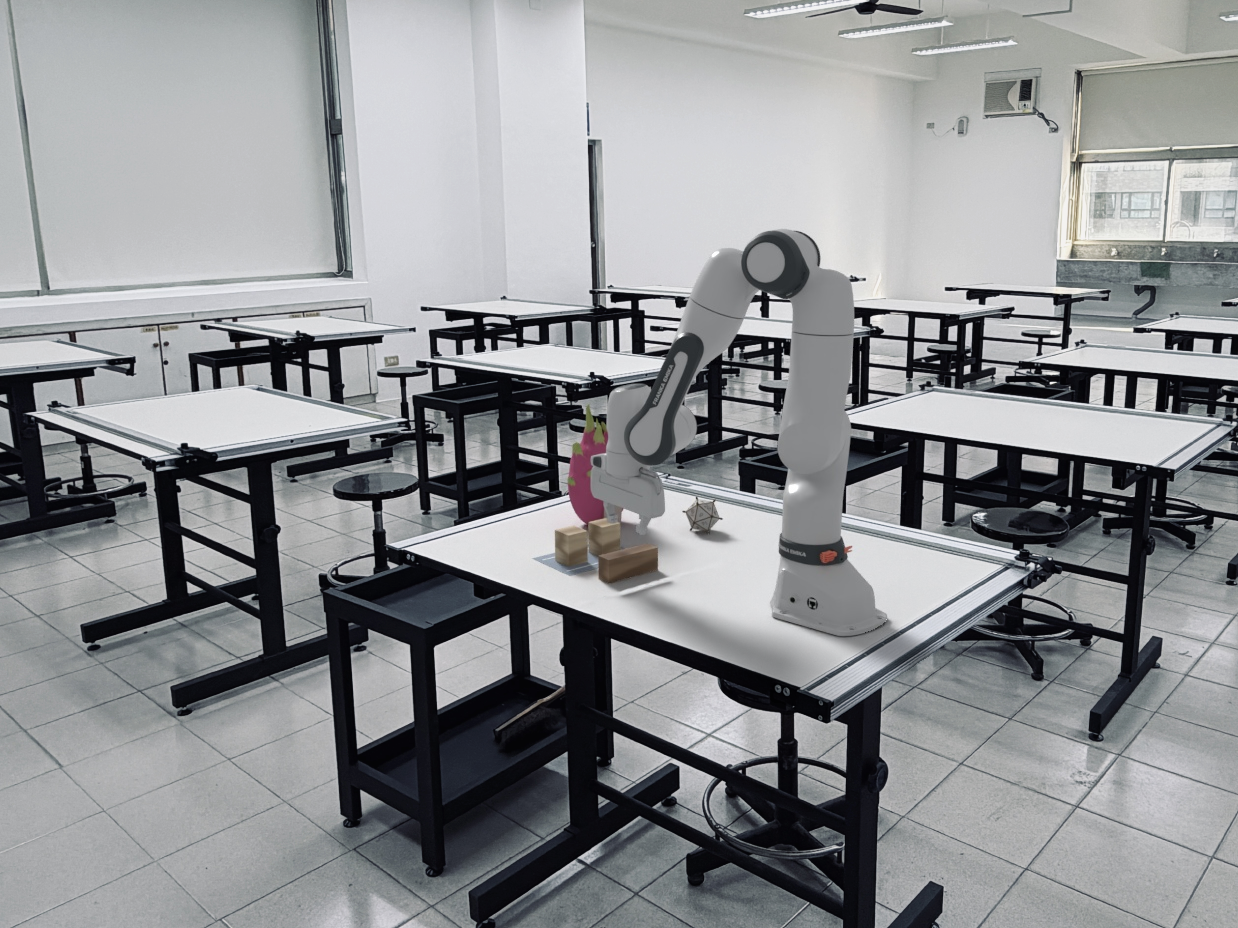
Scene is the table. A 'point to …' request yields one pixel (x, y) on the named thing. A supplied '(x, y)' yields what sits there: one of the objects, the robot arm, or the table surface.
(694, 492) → the table surface
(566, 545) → the pillar left
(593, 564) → the blueprint board
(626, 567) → the walnut lintel
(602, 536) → the pillar right
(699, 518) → the game die
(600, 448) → the pink dragon fruit
